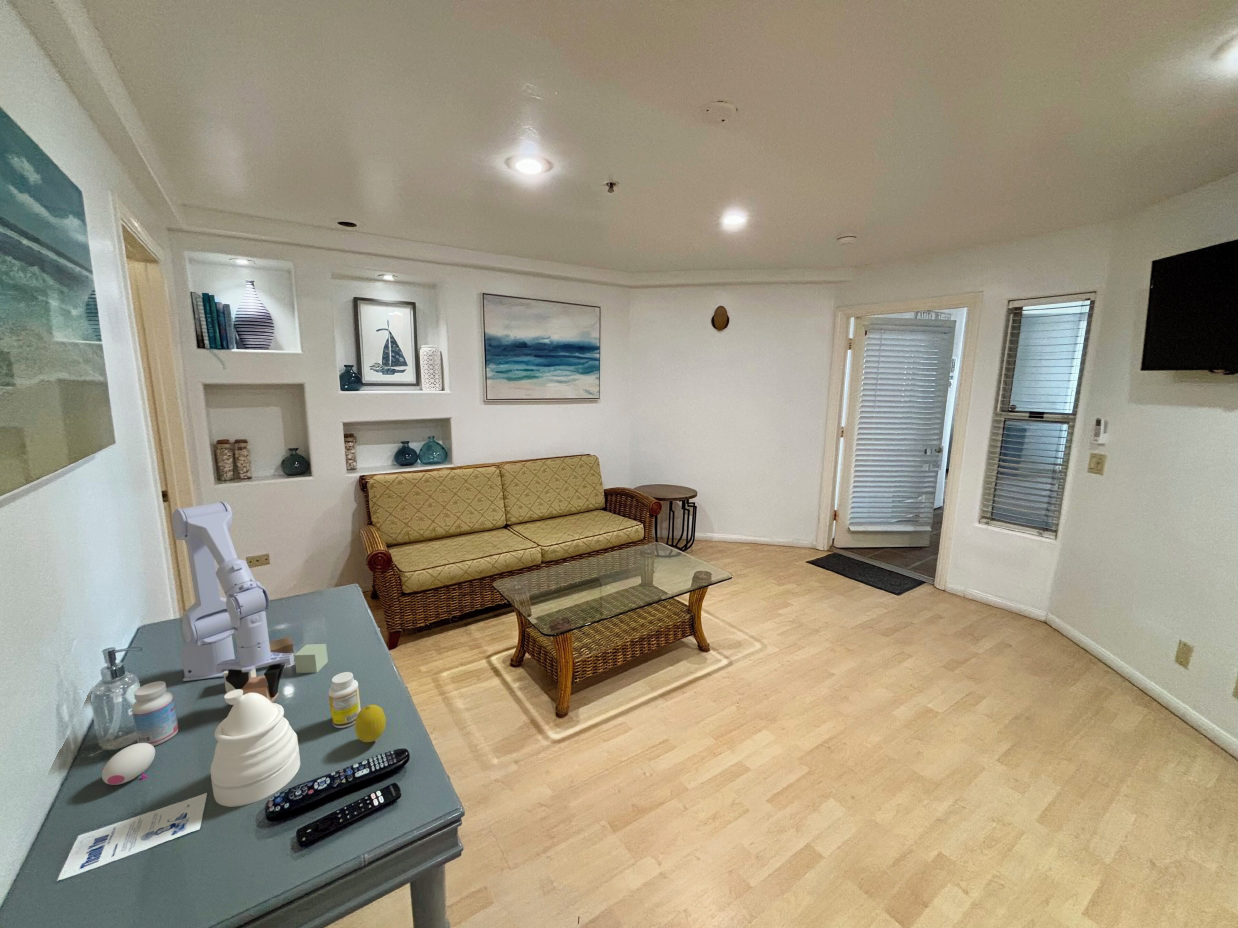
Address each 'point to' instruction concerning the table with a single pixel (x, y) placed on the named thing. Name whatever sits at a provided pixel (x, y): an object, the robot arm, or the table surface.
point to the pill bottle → (154, 714)
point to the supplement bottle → (344, 700)
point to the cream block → (230, 687)
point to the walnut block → (282, 646)
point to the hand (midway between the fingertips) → (260, 696)
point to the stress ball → (128, 763)
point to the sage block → (311, 658)
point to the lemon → (370, 723)
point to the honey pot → (252, 751)
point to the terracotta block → (258, 687)
